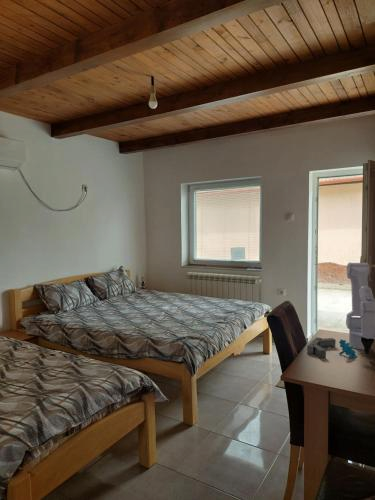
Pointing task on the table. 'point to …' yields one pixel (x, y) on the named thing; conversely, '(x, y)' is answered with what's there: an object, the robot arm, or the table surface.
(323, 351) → the v block
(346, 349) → the teal lobed flat part
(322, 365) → the table surface
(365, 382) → the table surface
